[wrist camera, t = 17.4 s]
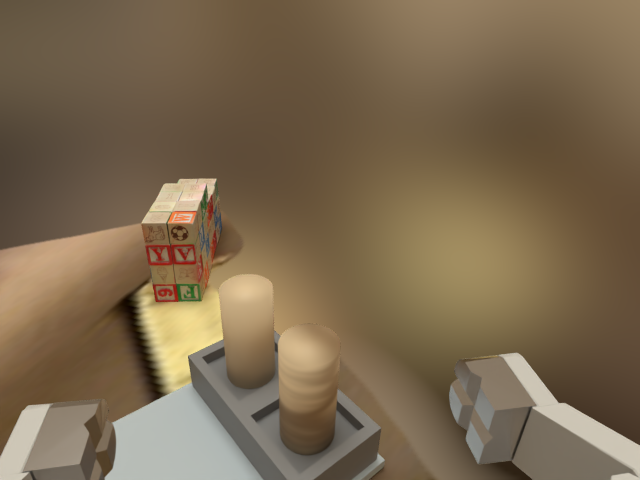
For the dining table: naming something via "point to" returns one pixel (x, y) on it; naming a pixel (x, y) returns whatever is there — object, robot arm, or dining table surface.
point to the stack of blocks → (182, 238)
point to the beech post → (308, 387)
